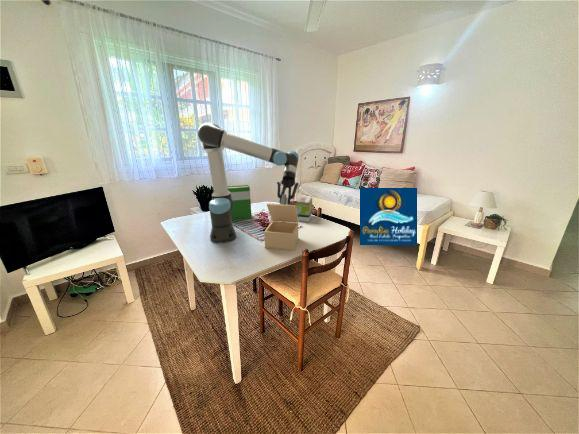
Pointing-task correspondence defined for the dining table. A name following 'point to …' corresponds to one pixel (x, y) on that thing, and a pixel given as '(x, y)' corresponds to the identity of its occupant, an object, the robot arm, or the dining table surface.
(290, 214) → the carton lid
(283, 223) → the carton
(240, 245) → the dining table surface
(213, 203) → the robot arm
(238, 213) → the green cereal box
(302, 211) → the tea box
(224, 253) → the dining table surface
